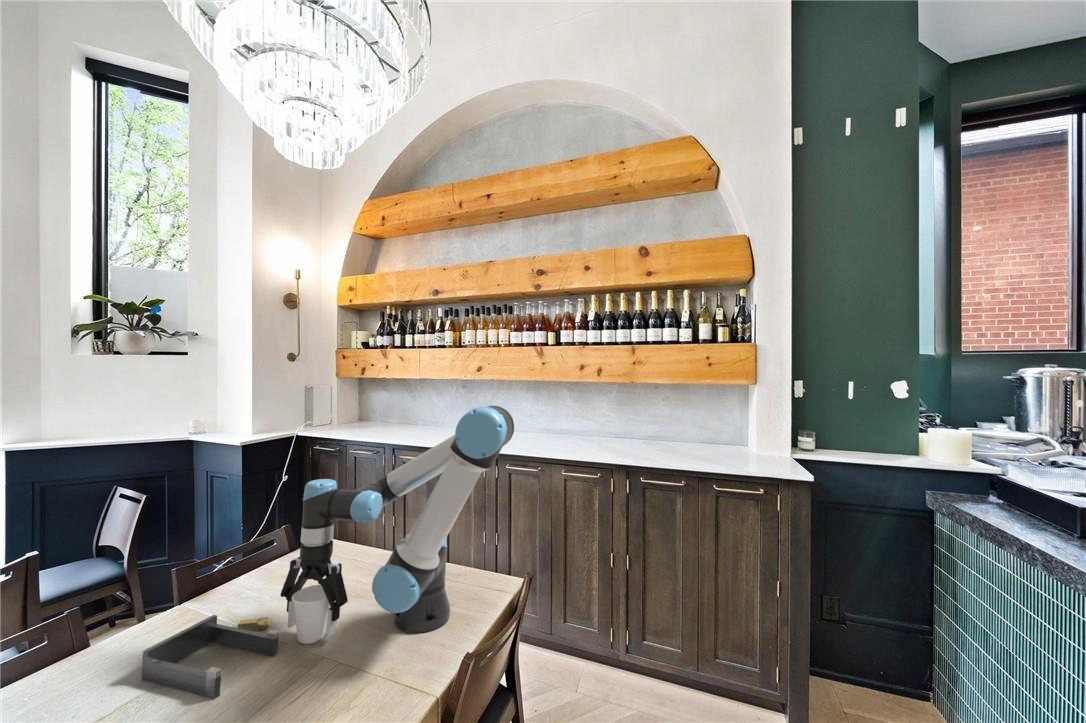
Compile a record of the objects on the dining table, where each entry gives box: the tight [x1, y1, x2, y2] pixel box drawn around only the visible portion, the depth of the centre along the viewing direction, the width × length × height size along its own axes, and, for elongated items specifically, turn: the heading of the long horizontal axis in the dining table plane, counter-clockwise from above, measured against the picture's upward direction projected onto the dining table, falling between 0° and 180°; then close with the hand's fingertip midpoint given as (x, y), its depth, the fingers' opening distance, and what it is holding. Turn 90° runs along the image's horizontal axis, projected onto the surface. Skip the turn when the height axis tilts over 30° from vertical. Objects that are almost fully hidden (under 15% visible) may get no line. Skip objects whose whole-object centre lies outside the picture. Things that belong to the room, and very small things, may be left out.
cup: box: [292, 584, 331, 645], centre depth 109 cm, size 10×10×11 cm
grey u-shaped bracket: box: [140, 614, 280, 700], centre depth 97 cm, size 20×15×6 cm
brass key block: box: [236, 616, 270, 632], centre depth 112 cm, size 7×3×2 cm, turn 106°
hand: (311, 629), depth 109 cm, fingers open, 11 cm apart
